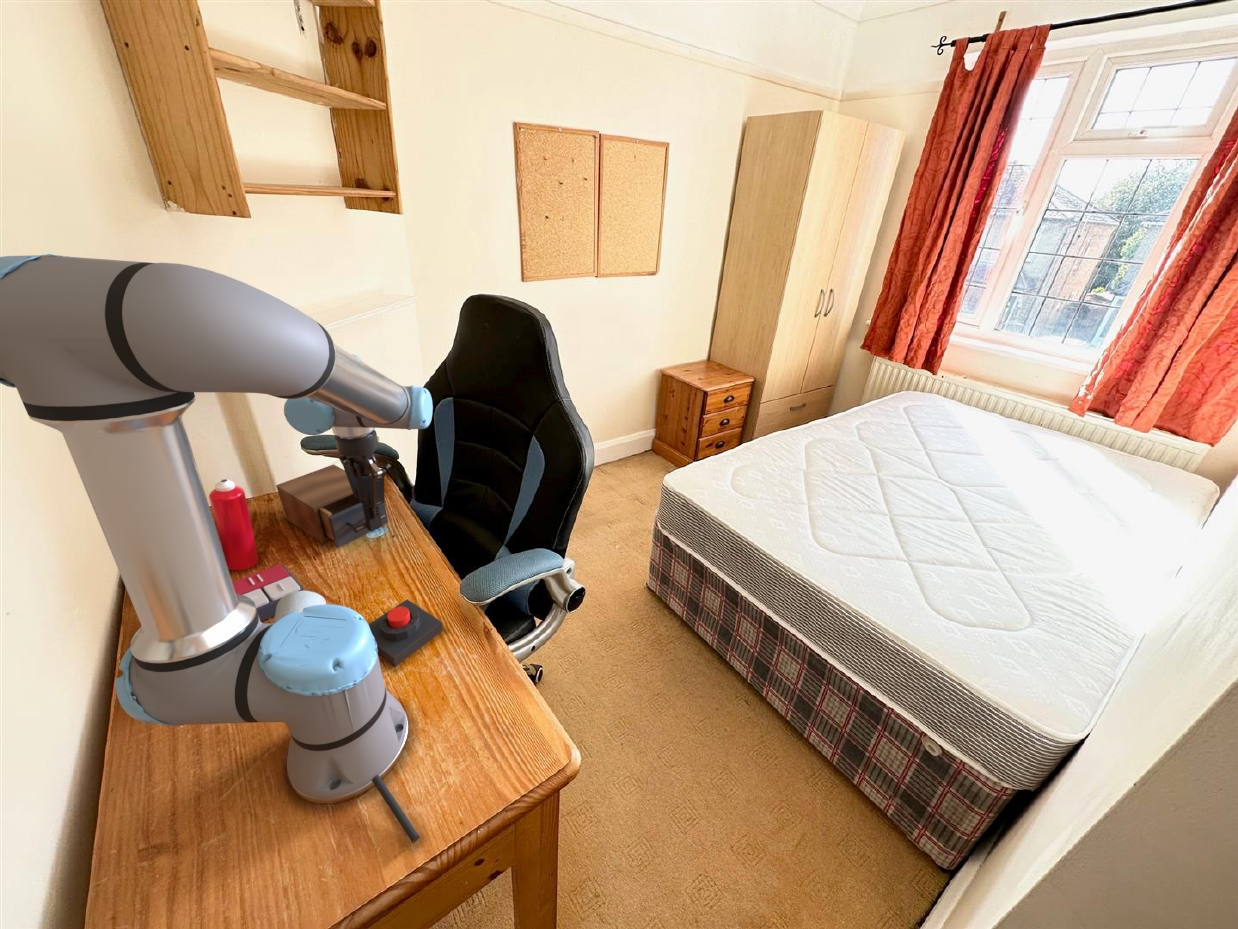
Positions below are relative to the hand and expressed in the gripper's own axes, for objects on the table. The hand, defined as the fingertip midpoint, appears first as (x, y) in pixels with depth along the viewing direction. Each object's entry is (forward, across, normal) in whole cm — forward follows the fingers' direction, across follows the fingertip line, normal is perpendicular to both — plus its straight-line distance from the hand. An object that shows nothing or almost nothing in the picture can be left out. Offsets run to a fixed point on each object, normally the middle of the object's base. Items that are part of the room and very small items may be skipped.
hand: (375, 527), depth 107 cm
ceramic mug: (+5, -14, +22) cm, 27 cm away
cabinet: (+5, +18, 0) cm, 19 cm away
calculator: (+5, +1, +25) cm, 26 cm away
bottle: (+5, +16, +20) cm, 27 cm away
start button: (+1, -27, +13) cm, 30 cm away
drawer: (+4, +10, 0) cm, 11 cm away
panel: (+5, -27, +13) cm, 30 cm away
